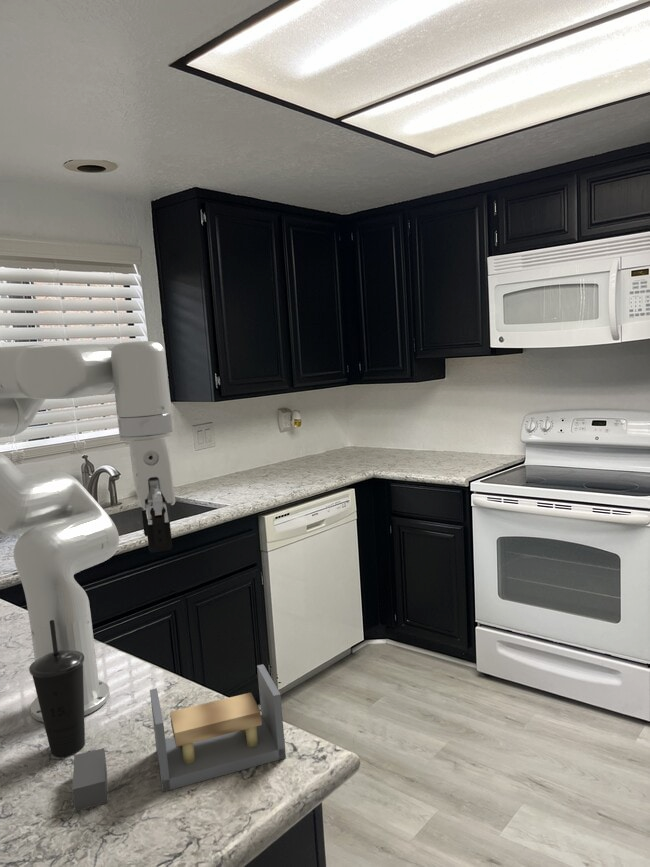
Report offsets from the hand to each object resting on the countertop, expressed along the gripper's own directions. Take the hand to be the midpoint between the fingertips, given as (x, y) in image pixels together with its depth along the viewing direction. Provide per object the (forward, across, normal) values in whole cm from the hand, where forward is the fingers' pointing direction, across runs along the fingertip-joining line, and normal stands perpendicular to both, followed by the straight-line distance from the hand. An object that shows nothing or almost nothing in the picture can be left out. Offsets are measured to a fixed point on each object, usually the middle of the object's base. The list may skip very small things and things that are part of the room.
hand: (157, 542), depth 96 cm
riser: (+30, -8, +12) cm, 34 cm away
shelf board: (+26, -8, -5) cm, 27 cm away
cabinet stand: (+30, -8, -5) cm, 32 cm away
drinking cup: (+31, +4, +16) cm, 35 cm away
